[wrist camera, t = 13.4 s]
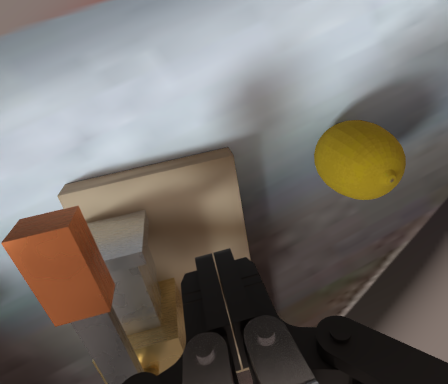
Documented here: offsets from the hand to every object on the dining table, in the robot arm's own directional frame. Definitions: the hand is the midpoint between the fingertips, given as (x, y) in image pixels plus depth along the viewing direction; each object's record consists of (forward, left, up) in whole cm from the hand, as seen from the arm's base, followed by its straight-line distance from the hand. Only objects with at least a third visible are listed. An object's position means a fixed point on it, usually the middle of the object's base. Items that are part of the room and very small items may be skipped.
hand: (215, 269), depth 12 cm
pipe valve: (-13, +7, -11) cm, 18 cm away
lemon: (-1, -12, -14) cm, 18 cm away
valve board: (-13, +3, -14) cm, 19 cm away
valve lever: (-6, +7, -3) cm, 9 cm away
